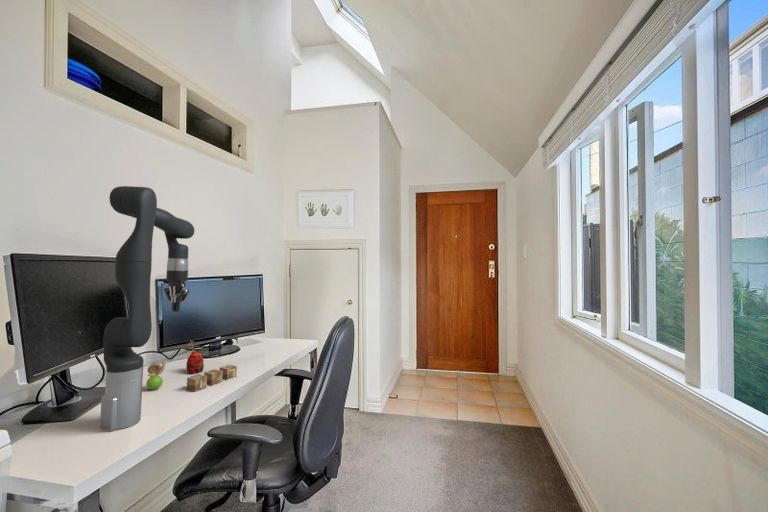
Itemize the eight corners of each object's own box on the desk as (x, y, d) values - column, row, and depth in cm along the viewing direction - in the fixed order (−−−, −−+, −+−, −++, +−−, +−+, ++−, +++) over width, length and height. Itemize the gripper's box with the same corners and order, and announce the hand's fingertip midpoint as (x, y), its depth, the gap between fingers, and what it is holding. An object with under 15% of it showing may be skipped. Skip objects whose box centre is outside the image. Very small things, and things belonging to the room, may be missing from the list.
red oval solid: (196, 374, 148) (198, 341, 149) (181, 374, 148) (183, 341, 149) (206, 369, 156) (207, 338, 156) (192, 369, 156) (193, 337, 156)
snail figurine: (166, 388, 131) (168, 358, 131) (147, 393, 126) (149, 362, 127) (163, 385, 135) (164, 356, 135) (144, 389, 130) (146, 359, 130)
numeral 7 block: (227, 380, 142) (227, 368, 142) (219, 378, 144) (219, 367, 144) (236, 377, 146) (237, 365, 147) (228, 375, 149) (229, 364, 149)
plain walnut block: (211, 386, 135) (212, 374, 135) (203, 384, 137) (204, 372, 137) (222, 382, 140) (222, 370, 140) (214, 380, 142) (214, 369, 142)
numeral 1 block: (195, 392, 128) (195, 379, 128) (186, 390, 130) (187, 377, 130) (206, 388, 133) (207, 375, 133) (198, 386, 135) (198, 373, 135)
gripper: (158, 269, 133) (156, 311, 133) (179, 269, 128) (177, 313, 127) (176, 269, 140) (174, 309, 140) (196, 269, 135) (195, 311, 134)
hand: (175, 311), depth 133 cm, fingers closed
